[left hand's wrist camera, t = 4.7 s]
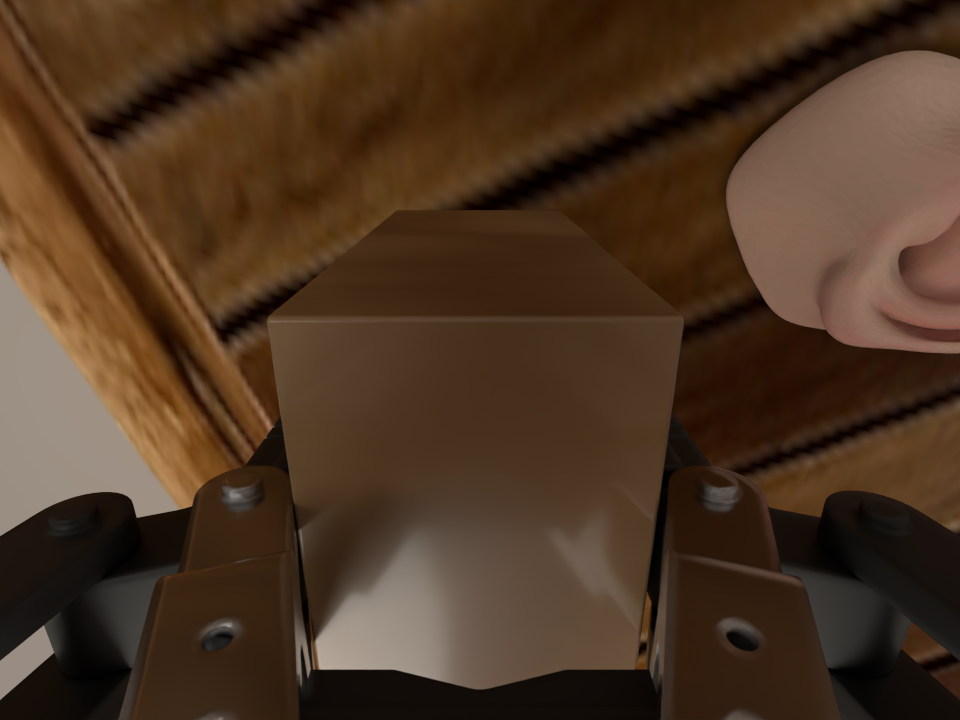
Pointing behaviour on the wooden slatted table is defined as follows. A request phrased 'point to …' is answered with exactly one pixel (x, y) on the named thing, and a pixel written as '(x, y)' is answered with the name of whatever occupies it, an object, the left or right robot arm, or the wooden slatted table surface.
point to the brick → (476, 446)
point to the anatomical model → (861, 206)
